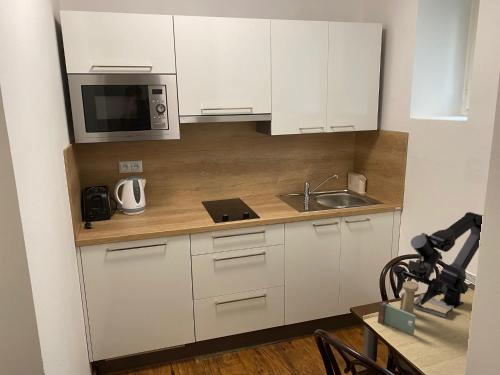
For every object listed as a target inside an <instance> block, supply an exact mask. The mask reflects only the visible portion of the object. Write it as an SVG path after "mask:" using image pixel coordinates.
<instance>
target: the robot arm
mask: <svg viewBox="0 0 500 375" xmlns="http://www.w3.org/2000/svg"><path fill="white" fill-rule="evenodd" d="M482 216H484V214H483V215H482V214H479V213H475V212H471V211H467V212H466V213H465V214H464V216H463V217H461V218H459V219H458V220H457V221H455V222H454V223H452V224H451V225H450V226H449V227H447V228H445V229H440V230H436V231H435V232H433V233H432V234H430V235H428V234H427V233H425V232H421V233H420V234H419V235H415V236H413V237H412V238H411V240H410V246H411V247H412V248H413V249H414V251H415V252H416V254H418V255H419V256H420V257H419V259H416V261H415V260H412V259H409V261H408V265H407V267H404V266H402V265H398V264H395V265H394V266H392V269H391V270H392V272H393V274H394V275H395V277H396V282H397V283H396V292H395V294H396V295H397V296H398V295H399V294H400V293H401V292H402V290H403V283H404V282H406V281H407V279H411V280H414V281H415V282H416V281H417V282H419V283H422V284H425V285H427V289H426V291H425V293H424V297H423V298H422V300H420V303H419V304H420V305H422V306H423V305H425V304H426V303H427V301H429V300H430V299H431V298H435V297H436V296H441V295H443V298H440V299H439V301H443V302H445V303H446V305H447V306H450V305H451V306H454V307H453V309H456V308H458V307H460V306H462V305H464V303H465V302H463V301H462V300H461V298H462V297H461V296H462V295H465V294H466V293H467V292H468V290H469V286H468V284H467V283H466V282H465V281H466V280H467V275H466V274H467V273H466V272H467V271H466V269H467V268H468V267H469V264H470V263H471V262H472V260H473V258H474V256H475V254H476V253H477V251H478V249H479V247H480V246H479V240H480V232H481V224H482ZM469 230H470V233H469V235H468V237H467V238H466V240H465V242H464V243H463V245H462V247H461V249H460V250H459V252H458V253H457V256H456V257H455V259H454V260H453V262H452V263H450V264H448V263H446V264H444V266H443V267H442V270H440V273H439V275H438V279H437V278H435V277H433V278H432V279H430V278H431V276H432V274H434V273H435V268H436V265H437V264H438V262H439V260H443V256H442V252H444V253H448V252H449V251H450V250H451V249H452V248H454V247H455V245H456V240H458V239H459V238H460V237H461V236H463V235H464V234H465V233H466V232H468V231H469ZM441 251H442V252H441ZM406 268H407V269H408V270H409V271H408V270H407V269H406Z"/></svg>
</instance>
